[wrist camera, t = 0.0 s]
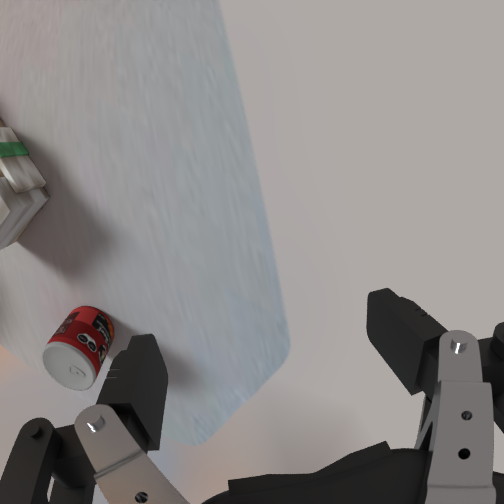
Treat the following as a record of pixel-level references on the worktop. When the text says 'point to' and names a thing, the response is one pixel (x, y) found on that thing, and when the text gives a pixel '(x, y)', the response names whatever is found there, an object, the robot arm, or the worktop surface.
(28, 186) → the gauge housing
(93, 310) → the canned food
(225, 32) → the worktop surface
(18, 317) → the worktop surface
